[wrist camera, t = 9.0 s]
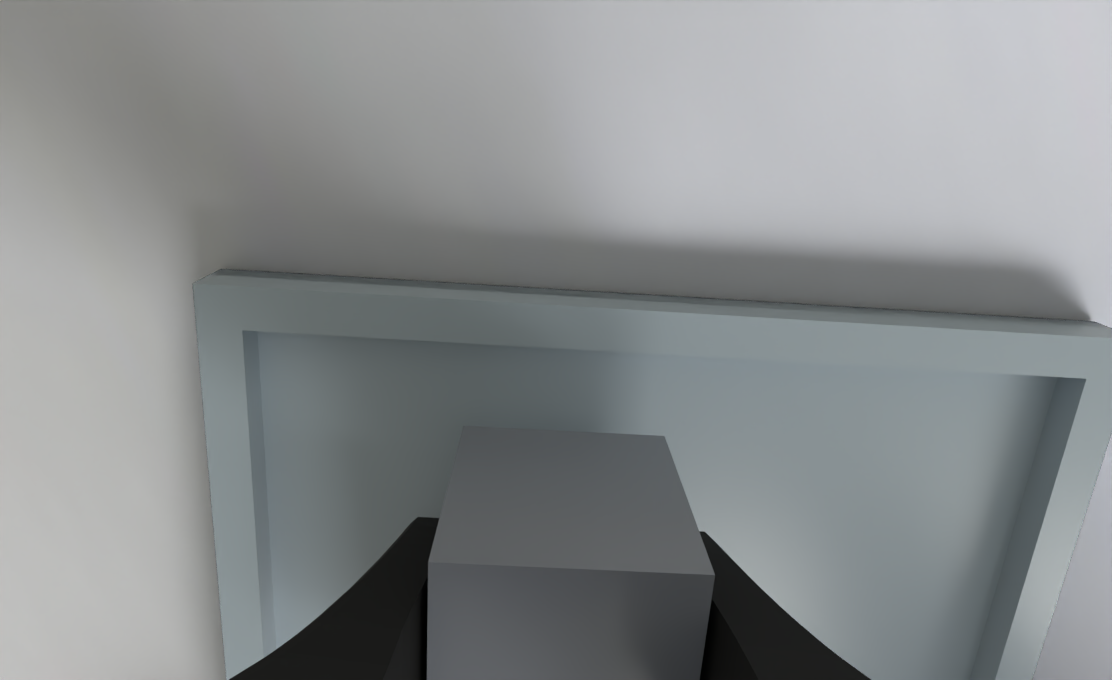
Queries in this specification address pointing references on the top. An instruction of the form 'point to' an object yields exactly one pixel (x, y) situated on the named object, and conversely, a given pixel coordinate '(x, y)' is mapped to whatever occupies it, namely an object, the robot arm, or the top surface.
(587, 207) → the top surface
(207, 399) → the parts tray
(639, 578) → the plain grey cube
